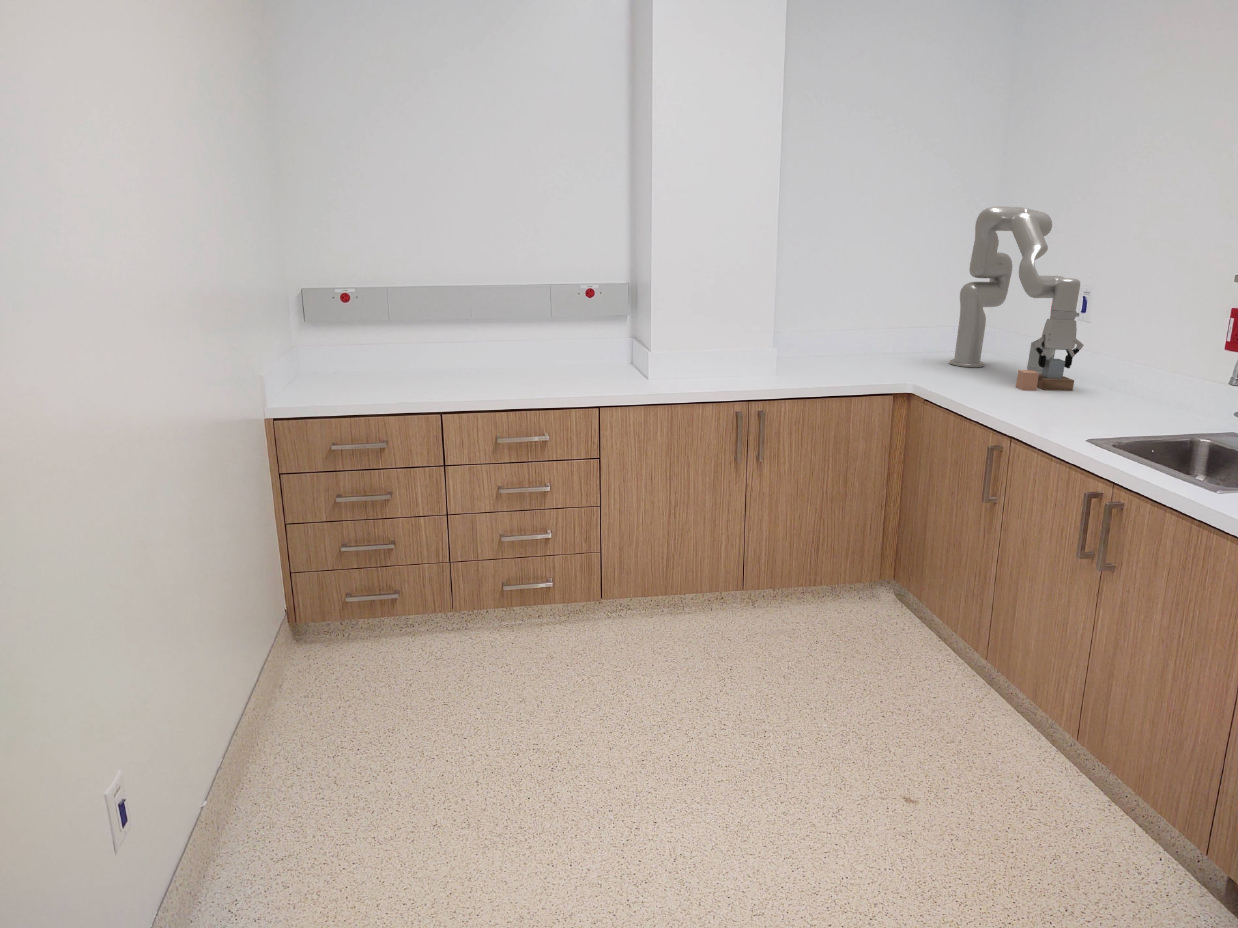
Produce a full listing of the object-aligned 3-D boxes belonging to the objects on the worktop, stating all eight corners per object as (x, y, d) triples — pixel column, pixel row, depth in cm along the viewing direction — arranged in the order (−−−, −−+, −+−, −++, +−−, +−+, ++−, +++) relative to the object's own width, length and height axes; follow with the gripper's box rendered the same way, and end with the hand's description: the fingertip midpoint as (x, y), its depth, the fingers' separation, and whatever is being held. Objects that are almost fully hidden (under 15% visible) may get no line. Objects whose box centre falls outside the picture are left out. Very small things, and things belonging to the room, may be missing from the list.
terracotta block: (1015, 387, 314) (1018, 369, 313) (1030, 387, 314) (1033, 370, 312) (1021, 390, 309) (1023, 372, 308) (1036, 390, 309) (1039, 373, 308)
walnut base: (1029, 385, 320) (1031, 374, 319) (1057, 386, 320) (1059, 374, 319) (1043, 391, 310) (1045, 379, 309) (1072, 392, 311) (1074, 380, 310)
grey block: (1041, 375, 317) (1044, 358, 315) (1056, 376, 317) (1058, 358, 315) (1047, 378, 312) (1050, 360, 310) (1062, 378, 312) (1065, 361, 310)
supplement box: (1046, 379, 330) (1052, 344, 327) (1025, 376, 335) (1030, 341, 331) (1051, 376, 336) (1057, 342, 332) (1030, 373, 340) (1035, 339, 337)
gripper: (1084, 315, 312) (1075, 366, 317) (1032, 313, 312) (1024, 364, 317) (1094, 318, 304) (1084, 370, 309) (1040, 316, 305) (1032, 368, 310)
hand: (1054, 367), depth 313 cm, fingers open, 8 cm apart
